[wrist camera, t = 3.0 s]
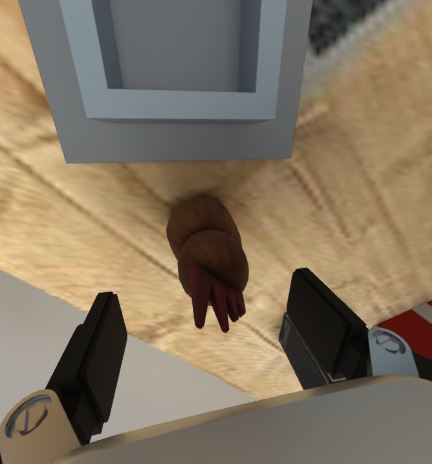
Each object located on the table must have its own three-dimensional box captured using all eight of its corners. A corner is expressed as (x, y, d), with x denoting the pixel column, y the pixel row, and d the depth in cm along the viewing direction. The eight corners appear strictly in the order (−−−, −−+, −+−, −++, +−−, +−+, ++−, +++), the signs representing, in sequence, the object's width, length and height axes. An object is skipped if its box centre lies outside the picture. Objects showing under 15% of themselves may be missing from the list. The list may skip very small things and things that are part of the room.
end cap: (323, -135, 13) (408, -294, 8) (285, 157, 21) (319, 163, 16) (-33, -209, 10) (-222, -517, 6) (71, 162, 18) (31, 171, 13)
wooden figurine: (158, 204, 21) (122, 327, 7) (209, 177, 20) (267, 252, 7) (192, 254, 24) (209, 405, 10) (236, 230, 23) (314, 355, 10)
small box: (277, 342, 33) (316, 423, 24) (283, 311, 30) (331, 389, 21) (335, 334, 35) (394, 407, 25) (347, 305, 32) (417, 374, 23)
